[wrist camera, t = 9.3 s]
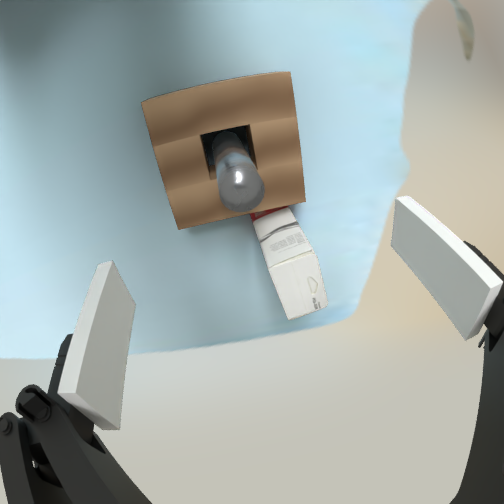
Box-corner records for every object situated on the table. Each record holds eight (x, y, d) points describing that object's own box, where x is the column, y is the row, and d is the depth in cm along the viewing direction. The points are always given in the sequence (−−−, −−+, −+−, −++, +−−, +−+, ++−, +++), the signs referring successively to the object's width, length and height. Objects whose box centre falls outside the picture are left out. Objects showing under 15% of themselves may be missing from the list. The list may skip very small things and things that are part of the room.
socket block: (149, 98, 28) (140, 102, 24) (277, 71, 28) (290, 71, 24) (180, 209, 36) (178, 229, 32) (293, 184, 36) (305, 201, 32)
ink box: (247, 210, 37) (265, 266, 28) (284, 196, 37) (315, 248, 27) (267, 261, 42) (288, 323, 32) (300, 249, 42) (329, 308, 32)
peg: (209, 134, 31) (214, 175, 20) (238, 128, 31) (261, 166, 20) (215, 160, 33) (224, 216, 22) (242, 155, 33) (267, 207, 22)
